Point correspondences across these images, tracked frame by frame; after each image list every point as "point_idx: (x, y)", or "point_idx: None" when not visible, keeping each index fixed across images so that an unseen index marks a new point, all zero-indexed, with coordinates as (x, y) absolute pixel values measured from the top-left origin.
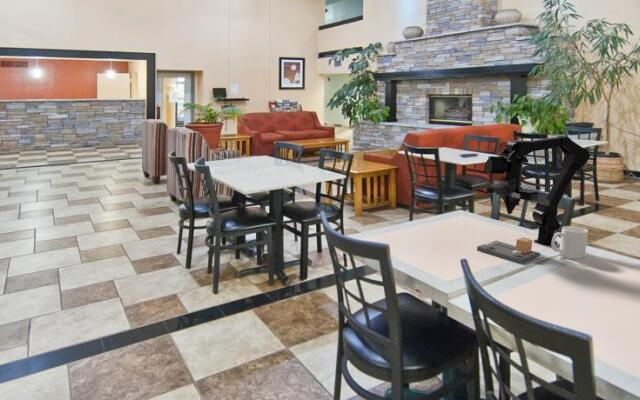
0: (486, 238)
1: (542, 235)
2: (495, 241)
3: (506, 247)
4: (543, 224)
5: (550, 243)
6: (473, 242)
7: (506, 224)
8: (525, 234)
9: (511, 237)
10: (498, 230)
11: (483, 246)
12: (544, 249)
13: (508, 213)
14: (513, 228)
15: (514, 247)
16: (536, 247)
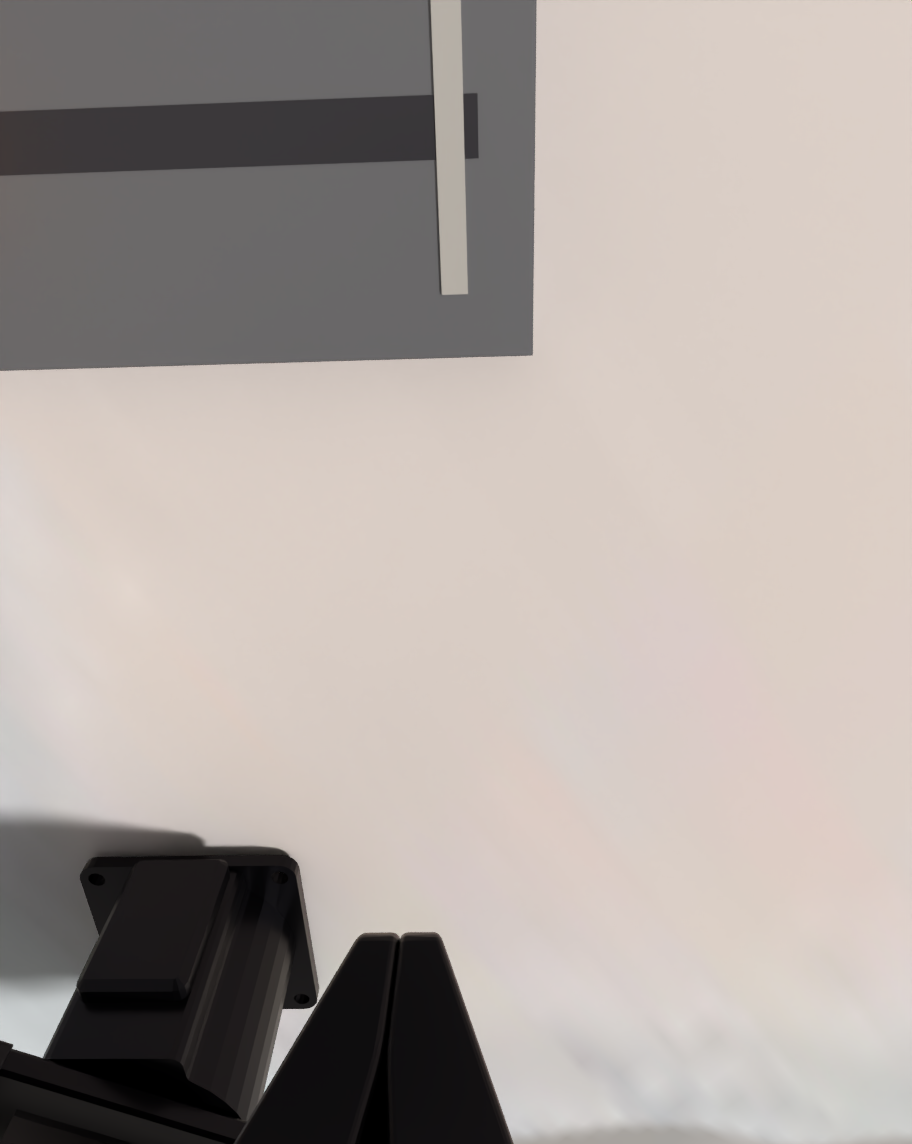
0: (822, 495)
1: (124, 945)
2: (510, 291)
3: (125, 117)
4: (13, 1117)
5: (107, 911)
6: (893, 52)
7: (907, 1126)
8: (547, 1001)
9: (586, 807)
10: (872, 915)
11: None
12: (4, 715)
13: (403, 942)
14: (771, 1073)
15: (64, 269)
16: (112, 706)
